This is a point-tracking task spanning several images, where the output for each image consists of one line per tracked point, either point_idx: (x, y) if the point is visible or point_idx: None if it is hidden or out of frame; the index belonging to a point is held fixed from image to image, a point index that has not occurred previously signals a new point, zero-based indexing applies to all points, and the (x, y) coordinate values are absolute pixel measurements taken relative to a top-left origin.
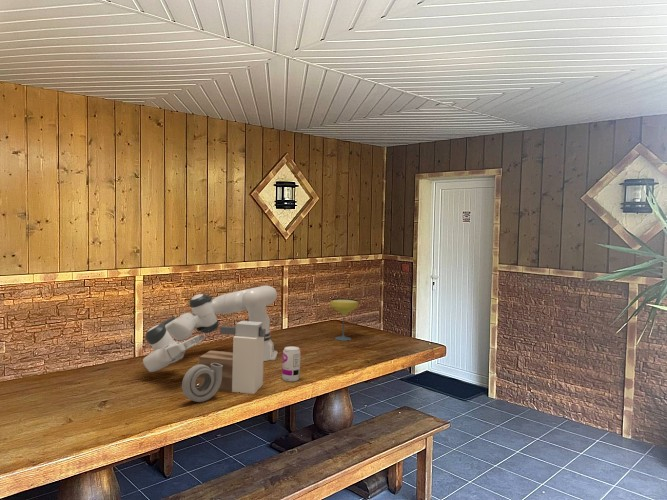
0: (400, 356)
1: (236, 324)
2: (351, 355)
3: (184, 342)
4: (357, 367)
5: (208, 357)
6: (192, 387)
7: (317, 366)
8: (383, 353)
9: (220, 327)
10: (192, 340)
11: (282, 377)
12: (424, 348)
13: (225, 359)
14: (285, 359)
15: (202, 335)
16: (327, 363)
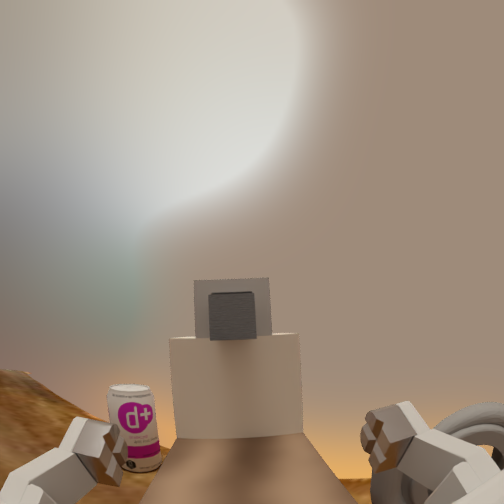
0: (43, 387)
1: (268, 281)
2: (12, 400)
3: (478, 486)
4: (77, 410)
5: (333, 487)
6: (500, 457)
7: (52, 430)
8: (22, 388)
9: (253, 296)
10: (412, 416)
11: (143, 468)
12: (24, 375)
13: (311, 444)
14: (148, 417)
15: (116, 432)
16: (39, 421)
